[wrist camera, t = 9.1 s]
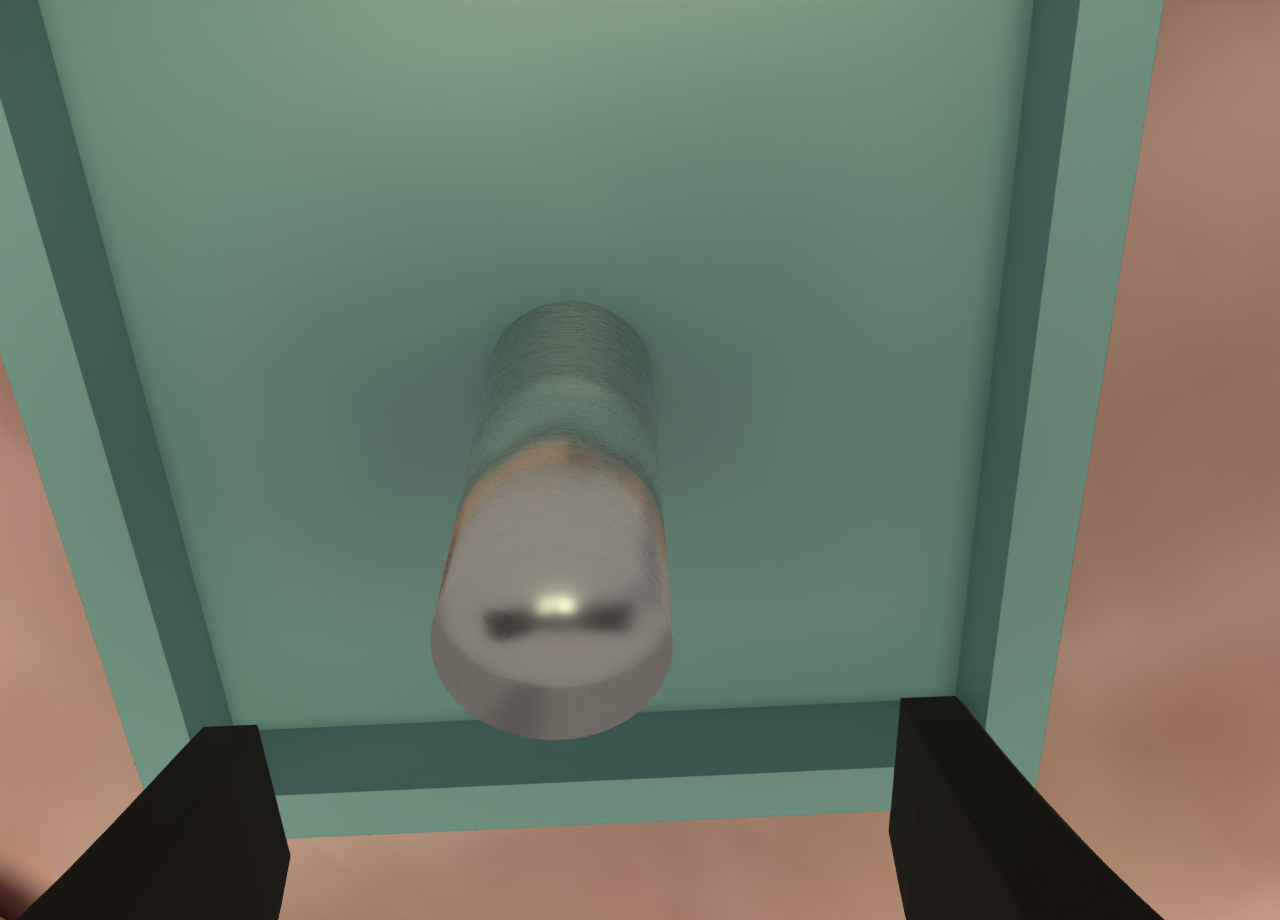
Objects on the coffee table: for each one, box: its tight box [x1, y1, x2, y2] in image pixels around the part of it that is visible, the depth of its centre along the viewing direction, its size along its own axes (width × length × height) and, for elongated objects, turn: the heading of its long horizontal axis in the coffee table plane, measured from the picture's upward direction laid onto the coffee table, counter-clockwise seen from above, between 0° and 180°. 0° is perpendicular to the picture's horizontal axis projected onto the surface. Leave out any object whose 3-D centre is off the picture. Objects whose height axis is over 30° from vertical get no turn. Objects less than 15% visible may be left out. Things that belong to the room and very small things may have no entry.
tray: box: [0, 0, 1164, 839], centre depth 21 cm, size 18×18×3 cm
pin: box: [430, 301, 673, 740], centre depth 18 cm, size 3×3×8 cm
